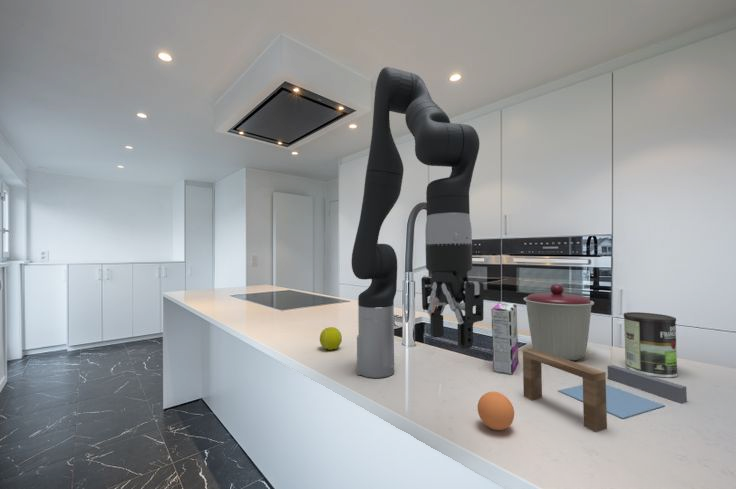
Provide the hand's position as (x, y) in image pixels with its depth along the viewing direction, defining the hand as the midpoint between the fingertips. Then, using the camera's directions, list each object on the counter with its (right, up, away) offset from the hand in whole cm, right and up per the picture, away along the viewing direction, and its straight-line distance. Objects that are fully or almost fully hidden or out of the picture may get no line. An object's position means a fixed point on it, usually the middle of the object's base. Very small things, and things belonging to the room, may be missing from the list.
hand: (450, 341), depth 54 cm
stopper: (+48, -16, +18) cm, 54 cm away
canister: (+43, -17, +42) cm, 63 cm away
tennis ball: (-26, -18, +51) cm, 59 cm away
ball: (+9, -13, +3) cm, 16 cm away
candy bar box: (+23, -17, +33) cm, 44 cm away
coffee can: (+59, -17, +30) cm, 68 cm away
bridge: (+24, -16, +9) cm, 30 cm away
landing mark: (+37, -16, +14) cm, 42 cm away
